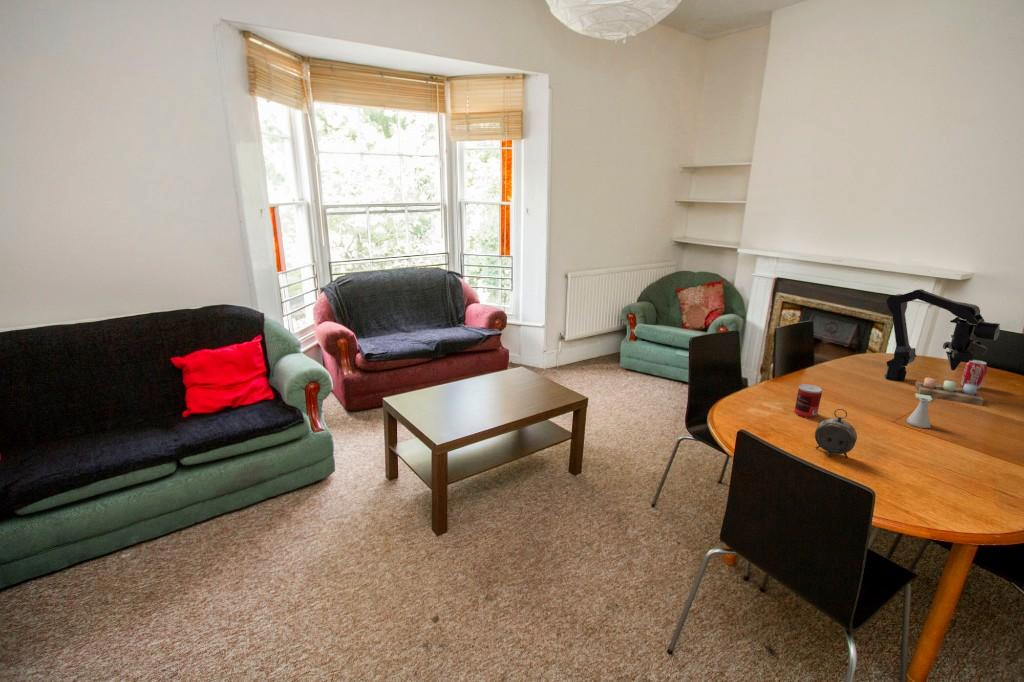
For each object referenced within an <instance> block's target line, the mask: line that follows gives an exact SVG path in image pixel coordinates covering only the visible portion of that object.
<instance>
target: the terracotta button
mask: <svg viewBox="0 0 1024 682" xmlns="http://www.w3.org/2000/svg"><path fill="white" fill-rule="evenodd" d="M937 381H938V380H937V379H936V378H932V377H924V380H923V382H924V383H923V387H924V388H930V389H935V386H936V384H937Z"/></svg>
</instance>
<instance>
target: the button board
mask: <svg viewBox="0 0 1024 682" xmlns="http://www.w3.org/2000/svg"><path fill="white" fill-rule="evenodd" d="M923 383H924V381H919V380H916V381H915V385H914V387H915V389H916V391H917V394H923V395H929V396H931V398H933V399H934V398H935V399H942V400H946V401H947V400H948V401H953V402H959V403H965V404H971V405H975V406H977V405H978V406H983V405H984V404H983V402H984V398H983V397H982V396H981V395H980V393H979V392H978V391H977V390H976V393H975V396H974V395H967V394H963V393H962V391H963V387H957V386H956V388H955V392H949V391H943V390H942V388H943V384H940V383H936V386H935V389H930V388H924V387H923Z"/></svg>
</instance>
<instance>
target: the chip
mask: <svg viewBox="0 0 1024 682" xmlns="http://www.w3.org/2000/svg"><path fill="white" fill-rule="evenodd" d="M914 396H915V398H916V399H917V400H920V398H926V399H929V400H930V402H933V397H931V396H929V395H923V394H919V393H918V392H916V393H915V394H914Z"/></svg>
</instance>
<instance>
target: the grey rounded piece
mask: <svg viewBox="0 0 1024 682" xmlns="http://www.w3.org/2000/svg"><path fill="white" fill-rule="evenodd" d="M962 388H963V391H962V393H963V394H967V395H974V396H975V393H976V391H977V390H978V389H977V386H976V385H973V384H964V387H963V386H962Z"/></svg>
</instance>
